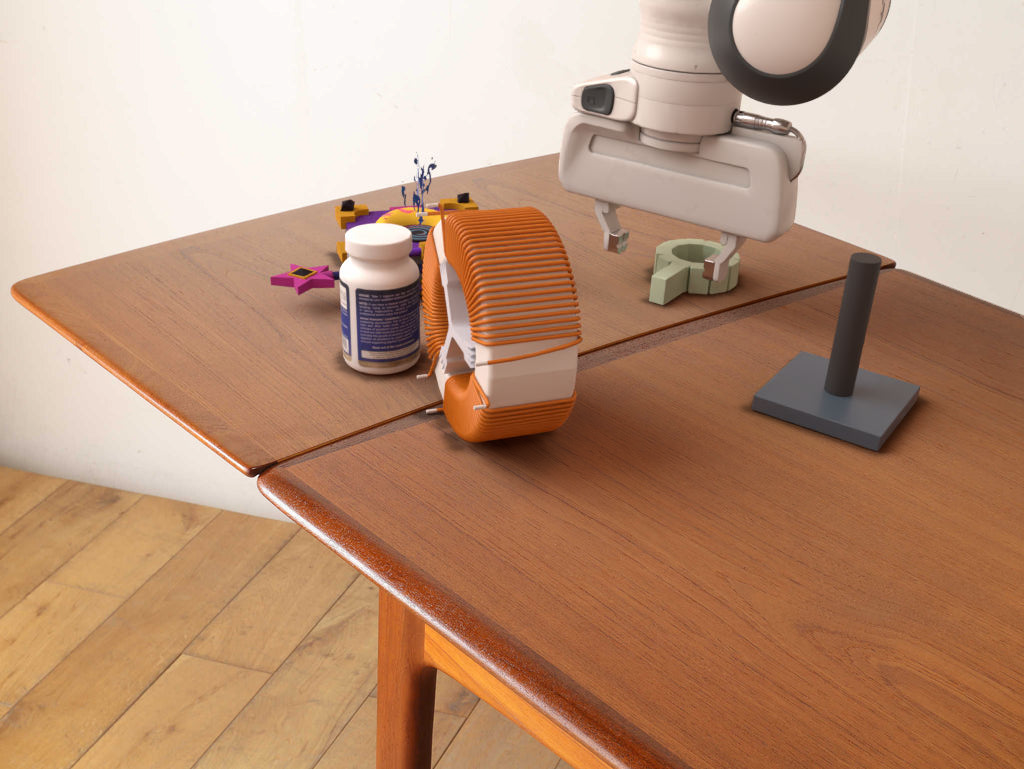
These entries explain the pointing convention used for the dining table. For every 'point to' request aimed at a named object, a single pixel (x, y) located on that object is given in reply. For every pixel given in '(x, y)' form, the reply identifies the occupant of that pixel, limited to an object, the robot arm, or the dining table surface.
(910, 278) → the dining table surface
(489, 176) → the dining table surface
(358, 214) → the purple yellow toy
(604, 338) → the dining table surface
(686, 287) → the tabbed ring on plate
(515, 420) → the coil
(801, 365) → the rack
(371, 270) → the pill bottle
